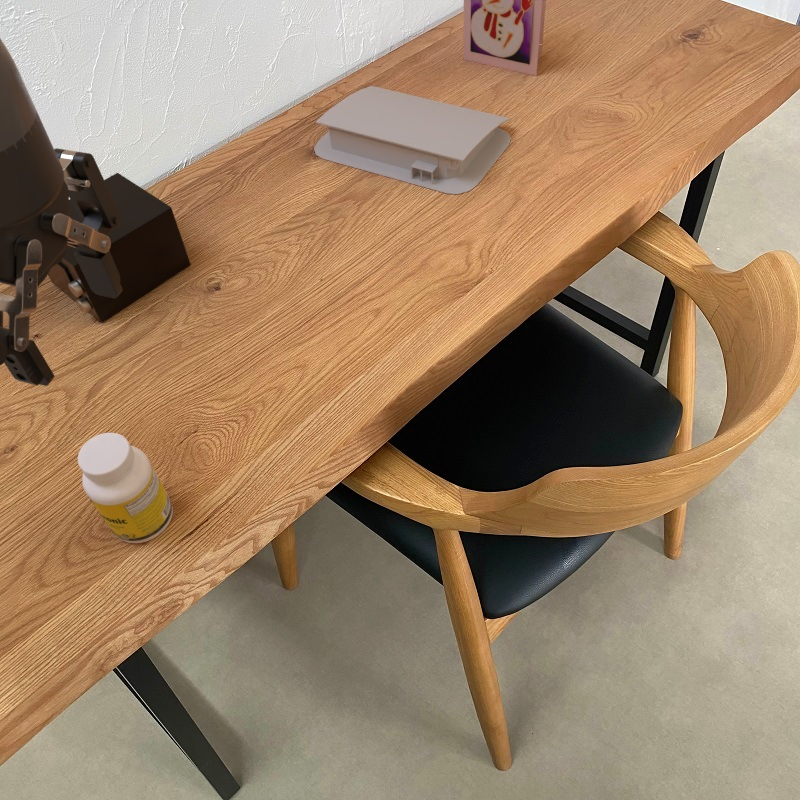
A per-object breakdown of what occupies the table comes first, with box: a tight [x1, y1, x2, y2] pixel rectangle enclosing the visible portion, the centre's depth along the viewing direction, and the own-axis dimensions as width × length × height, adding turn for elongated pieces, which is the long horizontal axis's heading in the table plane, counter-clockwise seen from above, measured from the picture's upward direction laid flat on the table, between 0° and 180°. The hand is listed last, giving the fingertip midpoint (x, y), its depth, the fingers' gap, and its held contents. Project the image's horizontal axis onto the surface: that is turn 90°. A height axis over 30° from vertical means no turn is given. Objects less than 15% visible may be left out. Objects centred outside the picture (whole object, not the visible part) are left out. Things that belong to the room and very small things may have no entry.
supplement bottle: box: [77, 432, 174, 544], centre depth 65 cm, size 5×5×10 cm
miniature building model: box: [313, 85, 512, 195], centre depth 101 cm, size 15×23×4 cm, turn 61°
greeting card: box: [463, 0, 547, 77], centre depth 109 cm, size 11×7×15 cm, turn 60°
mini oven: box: [47, 172, 192, 324], centre depth 86 cm, size 13×10×8 cm
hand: (75, 335), depth 55 cm, fingers open, 8 cm apart
